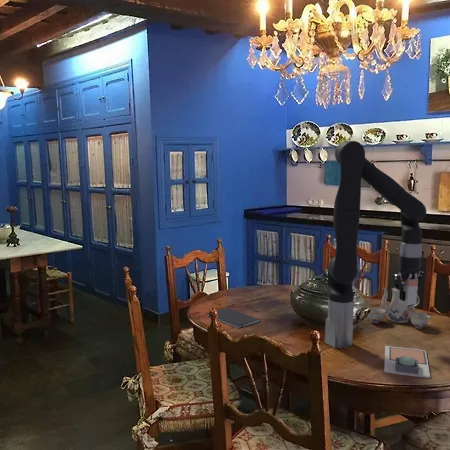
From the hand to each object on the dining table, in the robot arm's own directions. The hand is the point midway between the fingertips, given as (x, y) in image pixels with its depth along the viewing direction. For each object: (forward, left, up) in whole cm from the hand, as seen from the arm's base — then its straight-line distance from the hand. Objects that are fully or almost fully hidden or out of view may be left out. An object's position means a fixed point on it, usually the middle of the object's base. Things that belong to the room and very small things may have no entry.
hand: (407, 299), depth 190 cm
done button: (-17, -18, -15) cm, 29 cm away
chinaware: (+15, +20, -17) cm, 30 cm away
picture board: (-12, -13, -17) cm, 25 cm away
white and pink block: (0, 0, -1) cm, 1 cm away
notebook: (-47, +53, -18) cm, 73 cm away
